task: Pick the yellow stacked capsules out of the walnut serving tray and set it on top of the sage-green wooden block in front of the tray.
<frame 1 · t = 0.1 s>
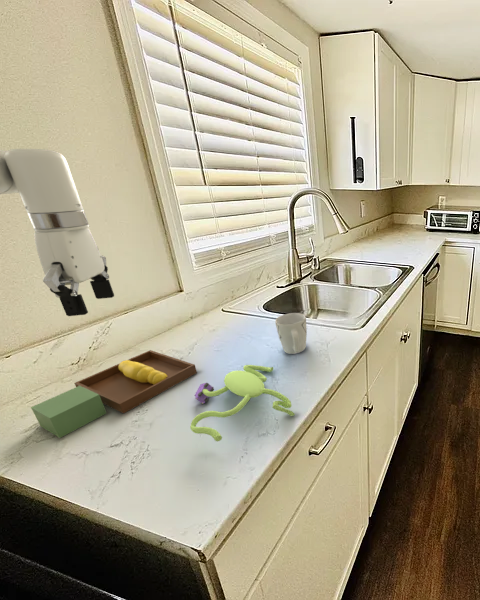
hand: (92, 305, 67), 24 cm above the worktop, tool pointing down, fingers open, 9 cm apart
figurine: (244, 406, 73), on the worktop
mug: (295, 351, 96), on the worktop
block: (74, 419, 70), on the worktop
tray: (140, 382, 83), on the worktop
yellow stacked capsules: (139, 379, 82), point 1 cm above the worktop, tilted 15°, touching tray
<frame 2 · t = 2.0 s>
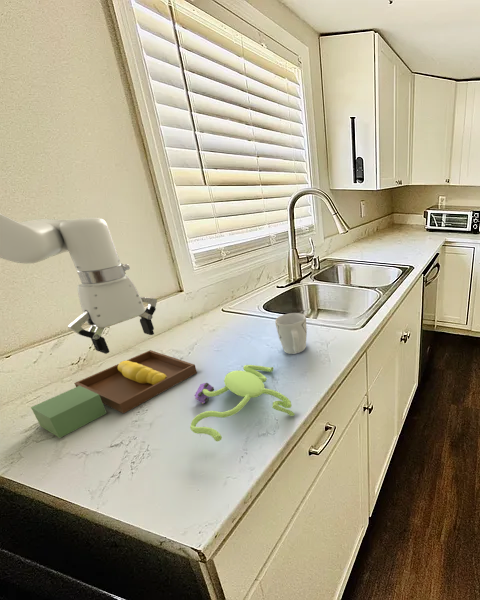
hand: (128, 342, 79), 11 cm above the worktop, tool pointing down, fingers open, 9 cm apart
yellow stacked capsules: (139, 380, 82), point 1 cm above the worktop, tilted 8°, touching tray
everything else where it was.
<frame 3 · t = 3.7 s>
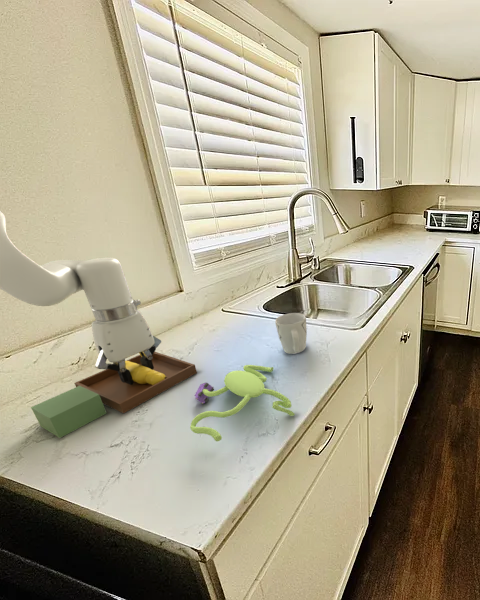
hand: (139, 377, 82), 1 cm above the worktop, tool pointing down, fingers closed on yellow stacked capsules, 4 cm apart
yellow stacked capsules: (139, 380, 82), point 1 cm above the worktop, touching gripper, tray
everything else where it was.
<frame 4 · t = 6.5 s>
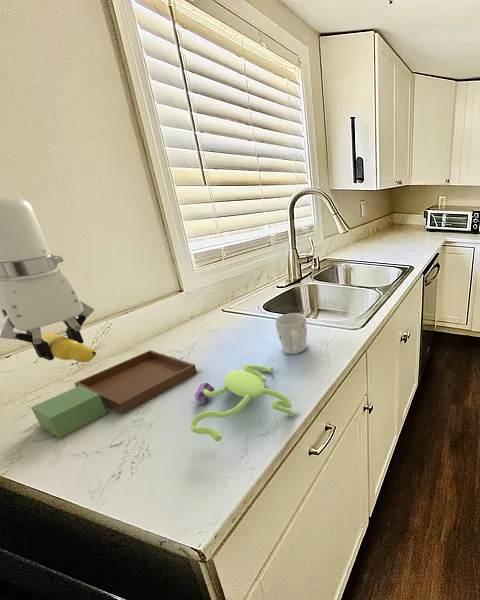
hand: (63, 352, 67), 15 cm above the worktop, tool pointing down, fingers closed on yellow stacked capsules, 4 cm apart
yellow stacked capsules: (64, 355, 67), point 14 cm above the worktop, touching gripper
everything else where it was.
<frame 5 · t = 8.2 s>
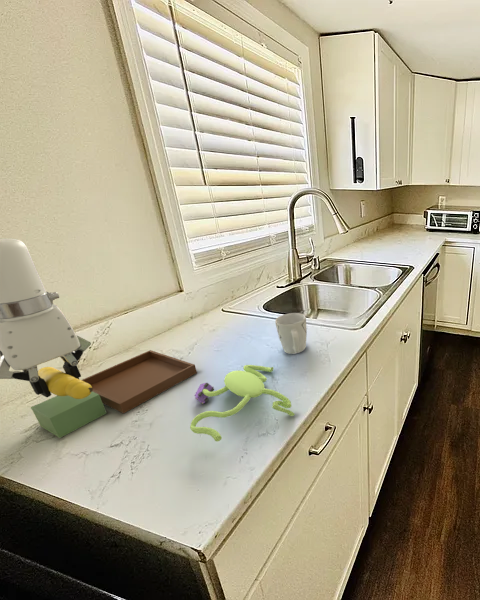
hand: (60, 387, 67), 8 cm above the worktop, tool pointing down, fingers closed on yellow stacked capsules, 4 cm apart
yellow stacked capsules: (61, 391, 67), point 7 cm above the worktop, touching gripper
everything else where it was.
when the fingers open (6 cm above the worktop, at t = 9.3 s): yellow stacked capsules stays where it is, resting on block.
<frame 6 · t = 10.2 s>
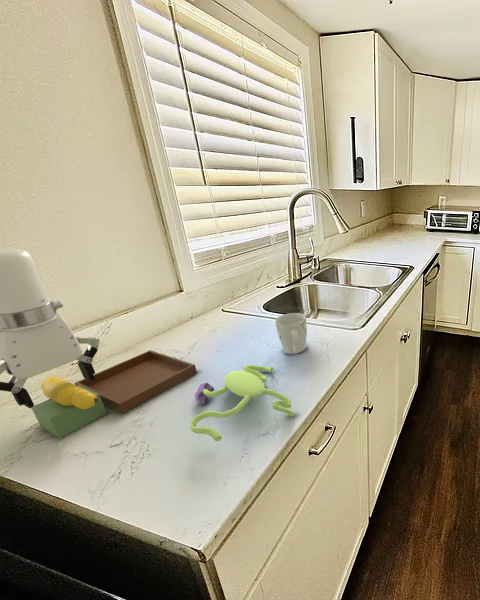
hand: (61, 391, 67), 7 cm above the worktop, tool pointing down, fingers open, 9 cm apart
yellow stacked capsules: (65, 400, 68), point 5 cm above the worktop, tilted 8°, touching block
everything else where it was.
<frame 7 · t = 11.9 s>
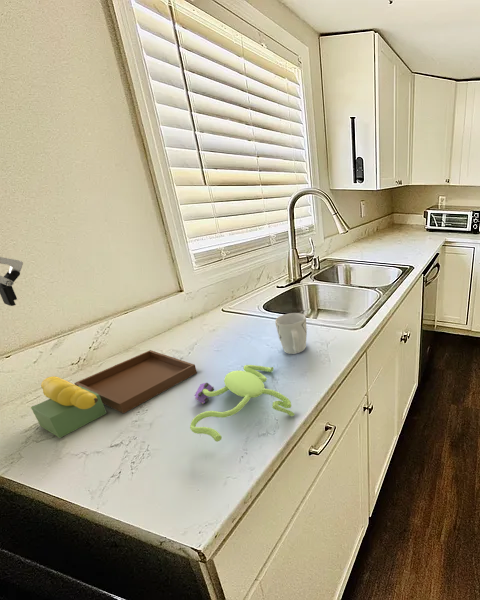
nothing on the worktop moved.
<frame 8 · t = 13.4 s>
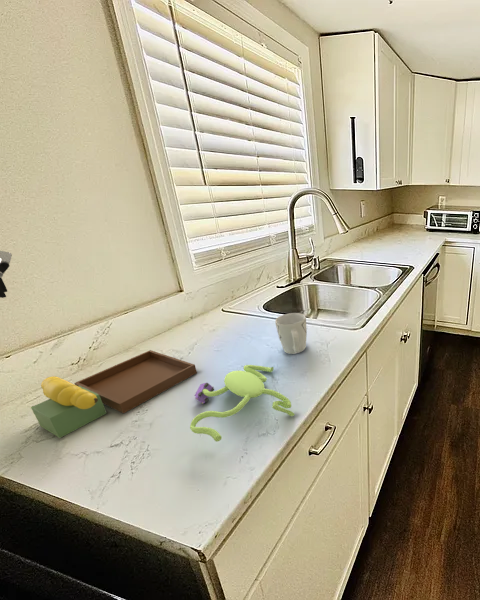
nothing on the worktop moved.
at the end: yellow stacked capsules inside the target area on the block (0.1 cm from its centre), point 5.0 cm above the block's base; yellow stacked capsules touching block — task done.
